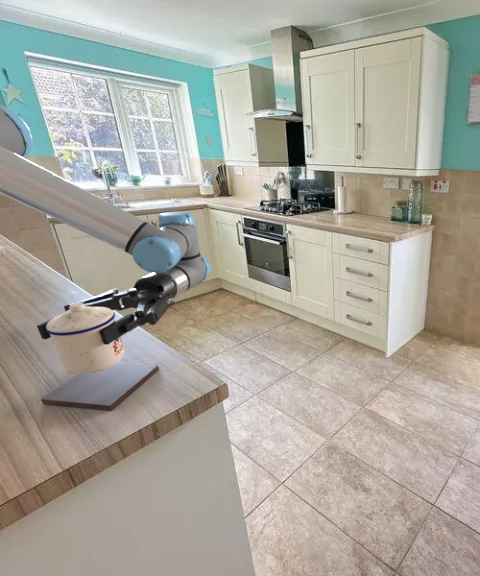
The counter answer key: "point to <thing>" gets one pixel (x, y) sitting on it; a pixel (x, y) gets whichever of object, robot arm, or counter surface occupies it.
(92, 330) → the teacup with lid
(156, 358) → the counter surface
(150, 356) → the counter surface
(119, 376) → the serving board
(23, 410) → the counter surface
